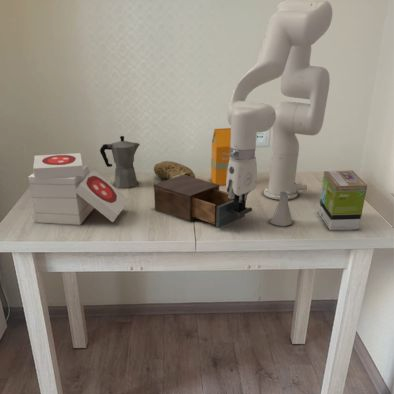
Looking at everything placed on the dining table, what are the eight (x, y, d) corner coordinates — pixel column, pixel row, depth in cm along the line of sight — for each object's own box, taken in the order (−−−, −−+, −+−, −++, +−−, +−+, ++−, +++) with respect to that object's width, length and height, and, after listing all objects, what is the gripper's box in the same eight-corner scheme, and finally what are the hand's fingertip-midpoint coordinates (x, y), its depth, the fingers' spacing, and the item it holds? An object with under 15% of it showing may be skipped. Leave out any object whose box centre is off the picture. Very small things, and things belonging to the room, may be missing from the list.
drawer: (258, 220, 161) (259, 200, 157) (232, 233, 153) (233, 211, 149) (209, 205, 172) (210, 185, 168) (183, 215, 164) (183, 195, 160)
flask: (286, 228, 158) (290, 198, 152) (266, 223, 161) (269, 193, 155) (295, 221, 163) (299, 191, 157) (275, 216, 166) (278, 187, 160)
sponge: (198, 188, 193) (181, 164, 205) (196, 171, 187) (179, 146, 199) (167, 198, 191) (152, 173, 203) (164, 180, 185) (148, 155, 197)
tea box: (316, 213, 169) (323, 169, 160) (345, 212, 169) (353, 169, 161) (328, 230, 157) (336, 184, 148) (359, 230, 157) (369, 184, 149)
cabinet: (218, 209, 171) (219, 184, 166) (190, 221, 162) (190, 195, 157) (183, 198, 180) (183, 174, 175) (154, 209, 171) (153, 184, 166)
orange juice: (236, 184, 194) (239, 130, 182) (215, 185, 192) (216, 131, 180) (231, 178, 200) (234, 125, 188) (210, 179, 198) (211, 126, 186)
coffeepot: (139, 179, 198) (135, 131, 188) (145, 186, 191) (142, 137, 180) (101, 183, 194) (96, 135, 183) (106, 190, 187) (101, 141, 176)
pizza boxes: (117, 229, 157) (112, 172, 146) (28, 224, 160) (16, 167, 149) (131, 207, 172) (127, 154, 162) (49, 203, 175) (40, 151, 165)
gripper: (236, 161, 139) (233, 222, 150) (267, 151, 148) (262, 209, 159) (216, 156, 143) (214, 216, 154) (247, 146, 152) (244, 204, 163)
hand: (238, 213), depth 156 cm, fingers closed
